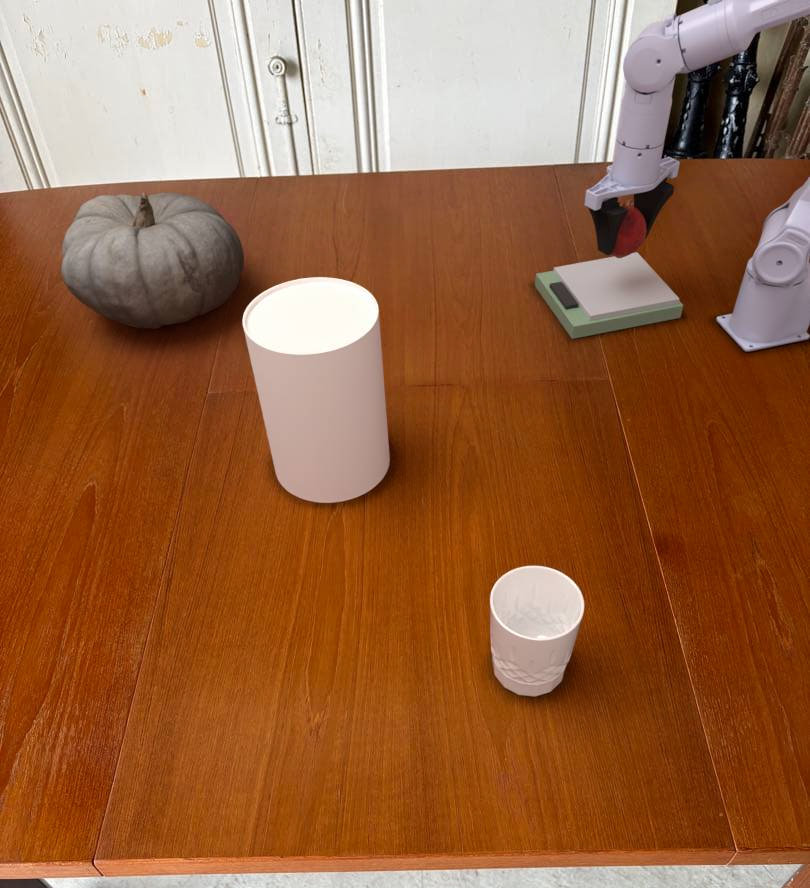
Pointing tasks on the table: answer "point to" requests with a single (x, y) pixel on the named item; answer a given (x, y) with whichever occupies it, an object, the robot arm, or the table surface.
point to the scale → (607, 295)
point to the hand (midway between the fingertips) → (622, 244)
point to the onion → (630, 231)
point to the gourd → (151, 258)
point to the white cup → (533, 628)
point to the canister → (320, 386)
